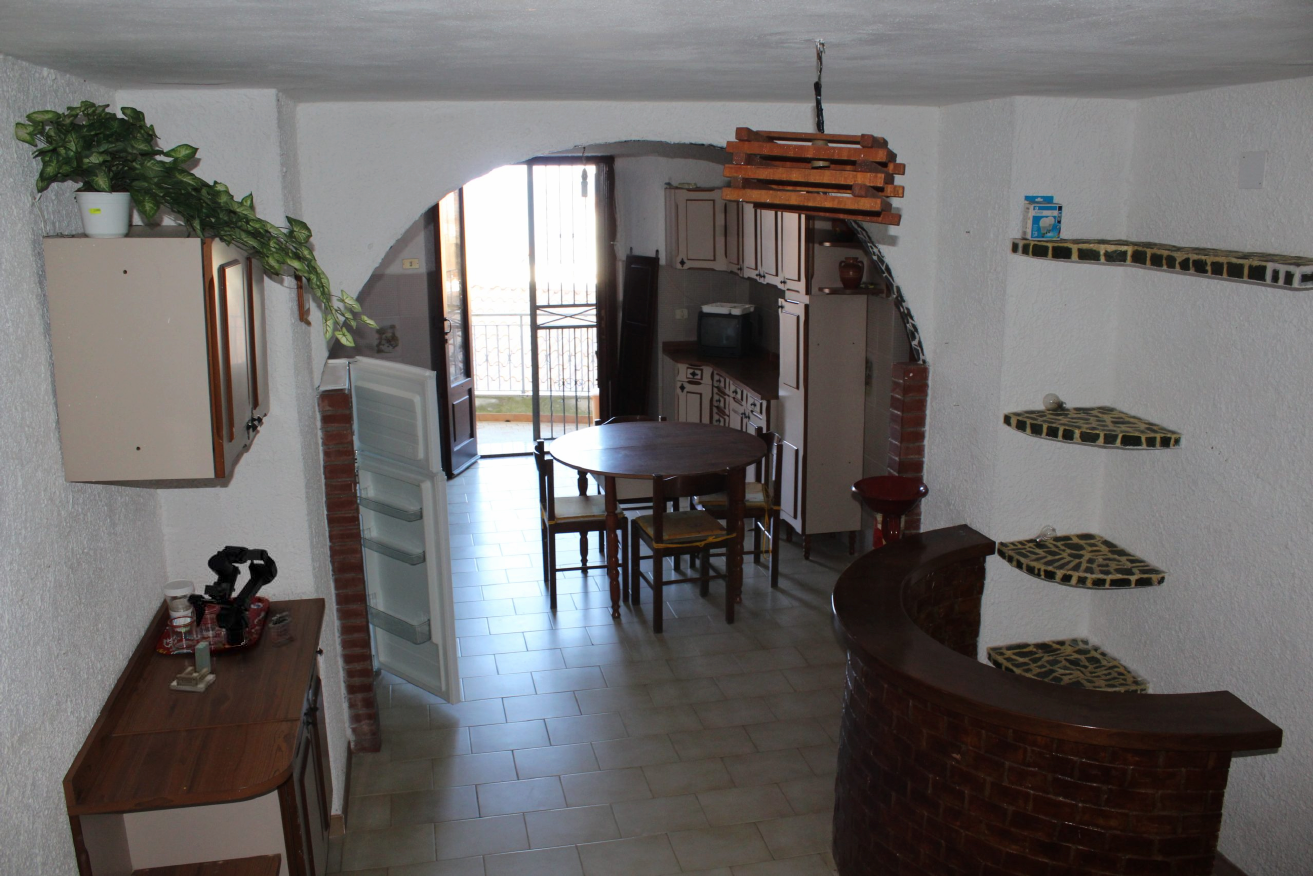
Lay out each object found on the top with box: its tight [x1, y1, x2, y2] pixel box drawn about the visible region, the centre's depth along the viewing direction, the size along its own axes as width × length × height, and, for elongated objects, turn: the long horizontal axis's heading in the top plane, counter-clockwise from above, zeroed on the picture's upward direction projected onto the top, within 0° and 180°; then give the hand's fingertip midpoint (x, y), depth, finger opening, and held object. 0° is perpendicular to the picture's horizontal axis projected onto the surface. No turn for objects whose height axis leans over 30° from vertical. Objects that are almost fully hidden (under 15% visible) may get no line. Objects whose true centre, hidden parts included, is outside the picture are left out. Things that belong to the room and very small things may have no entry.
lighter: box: [268, 611, 293, 648], centre depth 338 cm, size 8×3×10 cm, turn 146°
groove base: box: [169, 666, 216, 693], centre depth 309 cm, size 8×10×4 cm
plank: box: [194, 641, 212, 673], centre depth 315 cm, size 4×2×10 cm, turn 176°
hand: (211, 628), depth 319 cm, fingers open, 9 cm apart
